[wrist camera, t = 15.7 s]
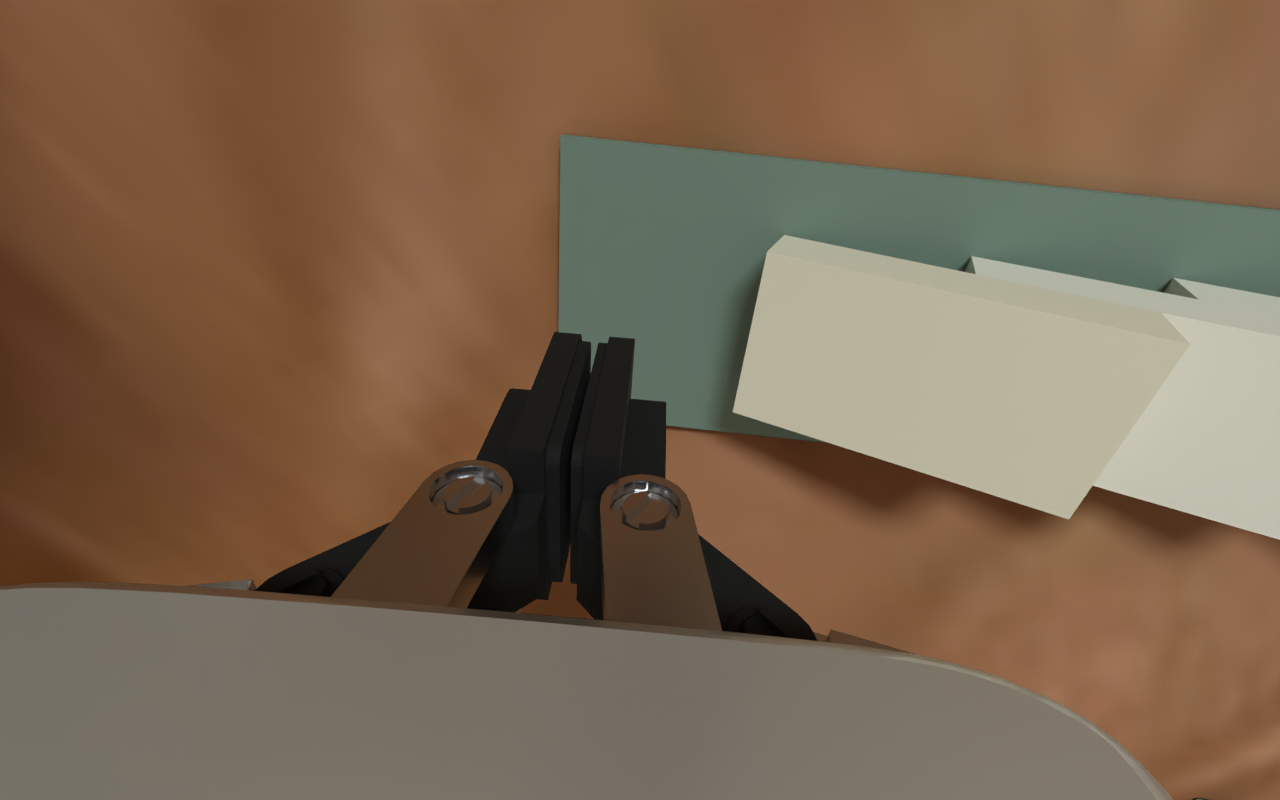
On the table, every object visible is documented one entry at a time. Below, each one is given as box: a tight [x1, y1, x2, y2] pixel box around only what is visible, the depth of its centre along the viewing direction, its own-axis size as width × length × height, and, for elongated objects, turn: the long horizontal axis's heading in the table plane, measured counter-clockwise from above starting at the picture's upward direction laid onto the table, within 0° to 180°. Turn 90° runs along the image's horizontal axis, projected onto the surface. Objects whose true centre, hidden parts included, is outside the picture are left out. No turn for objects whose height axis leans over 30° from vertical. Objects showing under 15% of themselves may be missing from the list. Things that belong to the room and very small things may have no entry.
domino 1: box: [733, 235, 1190, 519], centre depth 15 cm, size 2×5×9 cm
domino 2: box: [965, 256, 1280, 540], centre depth 15 cm, size 2×5×9 cm
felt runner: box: [558, 134, 1280, 443], centre depth 17 cm, size 32×9×1 cm, turn 85°
